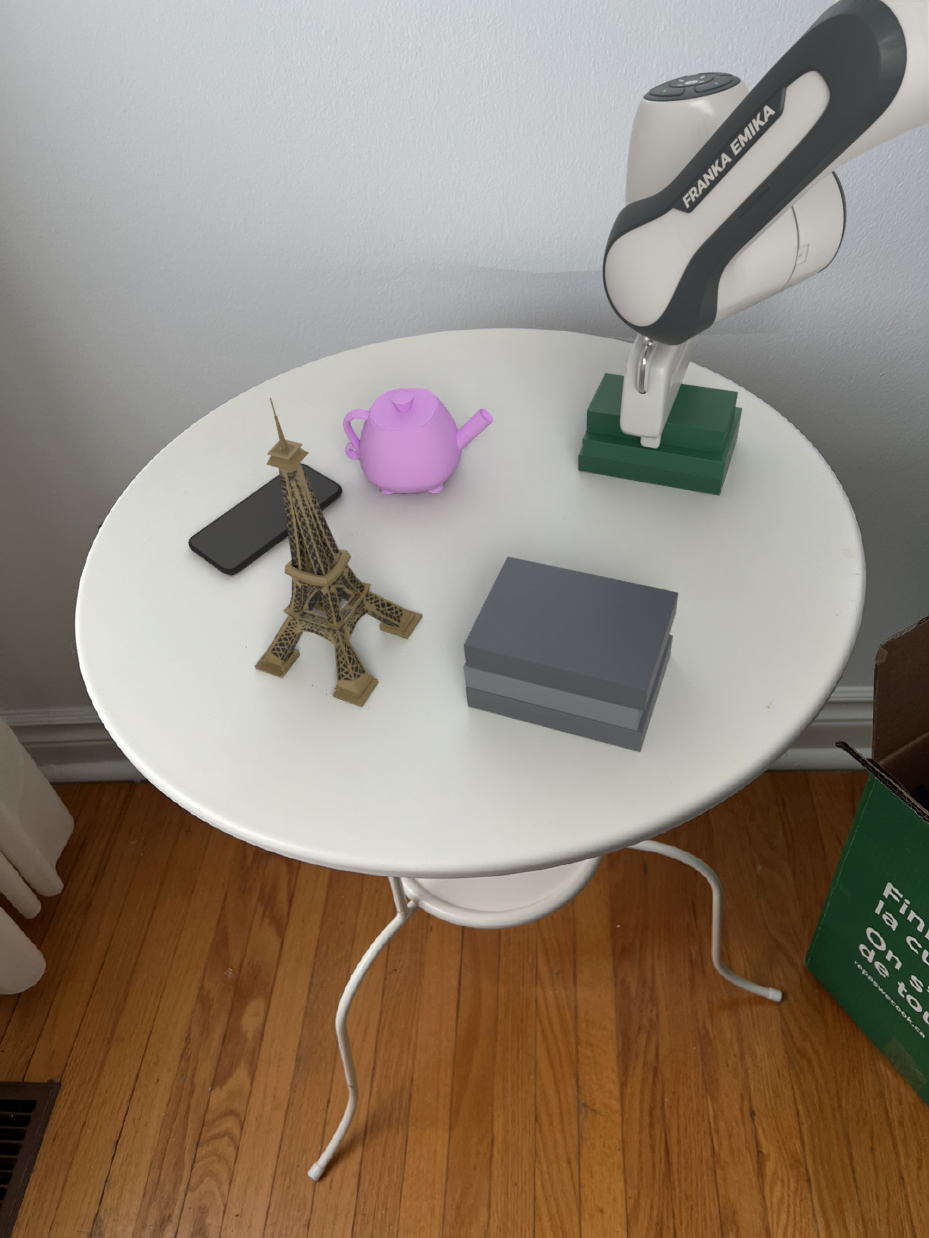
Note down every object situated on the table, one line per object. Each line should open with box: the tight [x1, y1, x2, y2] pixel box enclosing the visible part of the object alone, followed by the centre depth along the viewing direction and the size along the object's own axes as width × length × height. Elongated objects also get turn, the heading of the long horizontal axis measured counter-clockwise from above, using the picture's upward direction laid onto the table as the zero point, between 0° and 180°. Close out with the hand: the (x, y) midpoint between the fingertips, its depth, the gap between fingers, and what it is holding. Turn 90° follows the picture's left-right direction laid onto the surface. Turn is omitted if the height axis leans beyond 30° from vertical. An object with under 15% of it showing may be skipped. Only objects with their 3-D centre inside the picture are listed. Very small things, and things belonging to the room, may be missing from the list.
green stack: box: [577, 406, 743, 496], centre depth 91 cm, size 14×9×4 cm, turn 69°
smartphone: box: [187, 462, 343, 576], centre depth 90 cm, size 7×1×15 cm
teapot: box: [342, 387, 494, 495], centre depth 90 cm, size 10×15×9 cm
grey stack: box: [462, 556, 679, 753], centre depth 72 cm, size 14×10×8 cm
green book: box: [585, 372, 739, 454], centre depth 88 cm, size 13×6×2 cm, turn 69°
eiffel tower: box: [254, 397, 423, 708], centre depth 70 cm, size 11×11×25 cm
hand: (661, 418), depth 89 cm, fingers closed on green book, 6 cm apart
